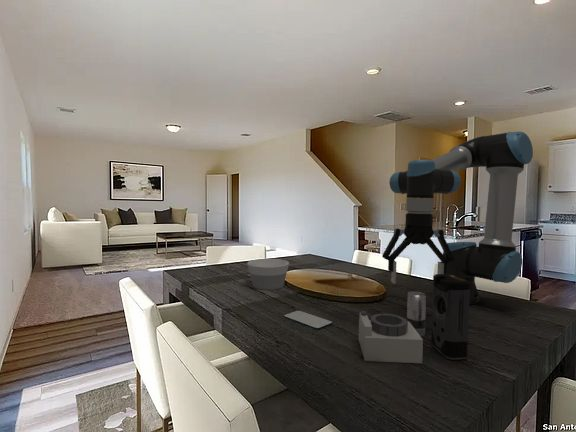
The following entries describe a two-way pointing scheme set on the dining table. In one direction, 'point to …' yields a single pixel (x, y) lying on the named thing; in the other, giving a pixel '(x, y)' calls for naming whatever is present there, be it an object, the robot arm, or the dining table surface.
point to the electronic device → (450, 316)
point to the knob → (417, 311)
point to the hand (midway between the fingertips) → (416, 283)
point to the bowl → (268, 273)
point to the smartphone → (308, 320)
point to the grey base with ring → (389, 339)
